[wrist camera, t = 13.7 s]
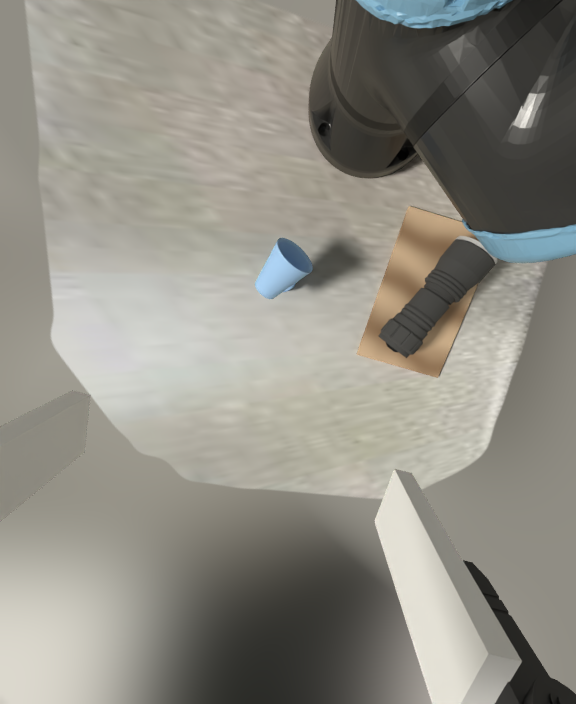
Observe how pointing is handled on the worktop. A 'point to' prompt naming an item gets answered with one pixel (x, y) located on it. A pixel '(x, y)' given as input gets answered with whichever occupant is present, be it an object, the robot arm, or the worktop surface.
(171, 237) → the worktop surface
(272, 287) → the spotlight
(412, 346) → the flashlight
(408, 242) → the mat
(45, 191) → the worktop surface
